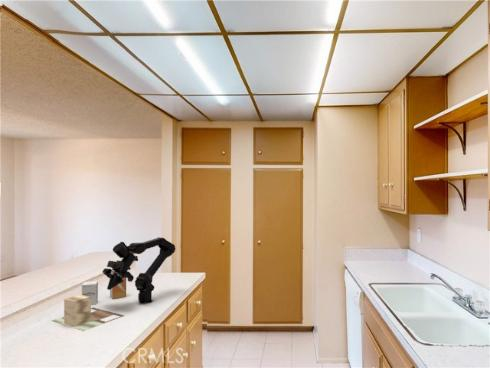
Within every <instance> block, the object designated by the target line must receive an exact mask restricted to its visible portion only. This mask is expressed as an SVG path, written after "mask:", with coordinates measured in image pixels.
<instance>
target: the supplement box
mask: <svg viewBox="0 0 490 368" xmlns="http://www.w3.org/2000/svg"><path fill="white" fill-rule="evenodd" d="M81 295H85V296H89V297H91V306H95V305H97V303H98V300H99V298H98V297H99V281H98V280H96V281H95V280H94V281H84V282H83V283H82V284H81Z"/></svg>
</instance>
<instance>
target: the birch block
mask: <svg viewBox="0 0 490 368" xmlns="http://www.w3.org/2000/svg"><path fill="white" fill-rule="evenodd" d="M63 302H64V303H63V304H64V305H63V306H64V307H63V308H64V309H63V315H64V316H63V317H64V323H65V324H68V325H72V326H77V325H80V324H83V323H86V322H89V321H91V312H92V309H91V308H92V305H91V297H89V296H85V295H82V294H77V295H74V296H70V297H66V298H64V299H63Z"/></svg>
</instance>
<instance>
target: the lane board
mask: <svg viewBox="0 0 490 368" xmlns="http://www.w3.org/2000/svg"><path fill="white" fill-rule="evenodd" d="M91 310H93V311H91V321H89V322H86V323H83V324H80V325H77V326H72V325H68V324H65V323H64V316H62V317H59V318H55V319H53V320H51V322H52V323H53V322H54V323H57V324H60V325H61V326H62V325H63V326H66V327H69V328H73V329H76V330H78V331H81V332H85V331H87V330H91V329H93V328H95V327H99V326H102V325H103V324H107V323H108V322H112V321H114V320H118V319H120V318H123V317H125V316H126V314H121V313H117V312H112V311H108V310H105V309H101V308H96V307H91ZM112 316H116V317H115V318H112V319H109V320H107V321H105V320H104V319H106V318H109V317H112Z"/></svg>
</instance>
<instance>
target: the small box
mask: <svg viewBox="0 0 490 368" xmlns="http://www.w3.org/2000/svg"><path fill="white" fill-rule="evenodd" d="M123 281H124V282H121V283H120V284H118V285H116V286H115V287H113V288H112V289H110V290H109V297H110V299H111V300H115V299H121V298H126V297H127V278H124V280H123Z"/></svg>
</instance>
